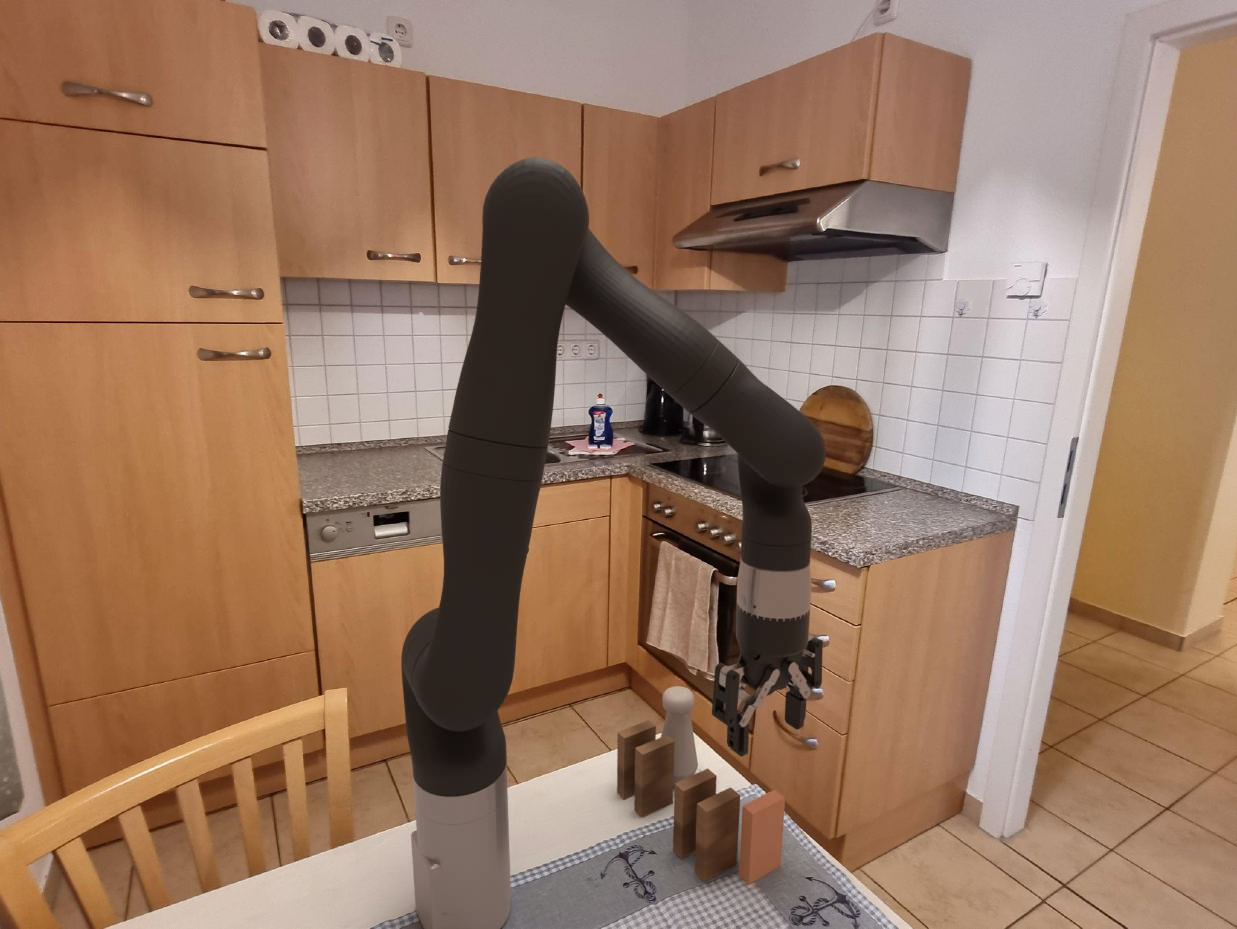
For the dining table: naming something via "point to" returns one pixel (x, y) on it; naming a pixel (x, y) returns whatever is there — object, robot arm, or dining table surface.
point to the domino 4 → (717, 834)
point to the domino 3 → (690, 809)
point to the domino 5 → (761, 836)
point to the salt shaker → (680, 730)
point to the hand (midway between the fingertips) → (767, 738)
